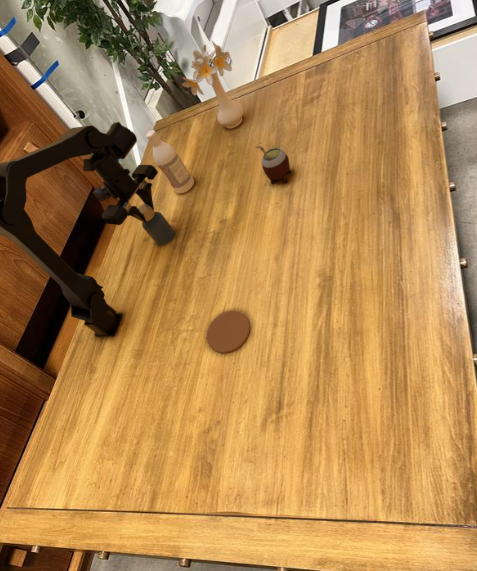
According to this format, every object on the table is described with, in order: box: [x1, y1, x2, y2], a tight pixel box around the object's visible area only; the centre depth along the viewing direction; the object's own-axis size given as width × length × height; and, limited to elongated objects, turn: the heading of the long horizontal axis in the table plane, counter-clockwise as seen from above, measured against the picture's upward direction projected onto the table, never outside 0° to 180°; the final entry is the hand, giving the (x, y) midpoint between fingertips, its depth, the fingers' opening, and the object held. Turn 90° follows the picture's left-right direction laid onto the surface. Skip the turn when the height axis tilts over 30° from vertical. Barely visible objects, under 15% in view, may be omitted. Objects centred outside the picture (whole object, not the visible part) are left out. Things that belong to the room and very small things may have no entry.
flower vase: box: [181, 39, 244, 130], centre depth 124 cm, size 13×18×25 cm
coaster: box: [206, 310, 251, 354], centre depth 84 cm, size 10×10×1 cm
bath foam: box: [145, 129, 195, 194], centre depth 116 cm, size 7×7×20 cm
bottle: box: [141, 211, 176, 246], centre depth 108 cm, size 6×6×11 cm
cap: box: [137, 202, 156, 221], centre depth 105 cm, size 4×4×3 cm
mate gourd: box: [255, 145, 292, 185], centre depth 101 cm, size 8×8×15 cm
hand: (148, 216), depth 106 cm, fingers closed on cap, 4 cm apart
